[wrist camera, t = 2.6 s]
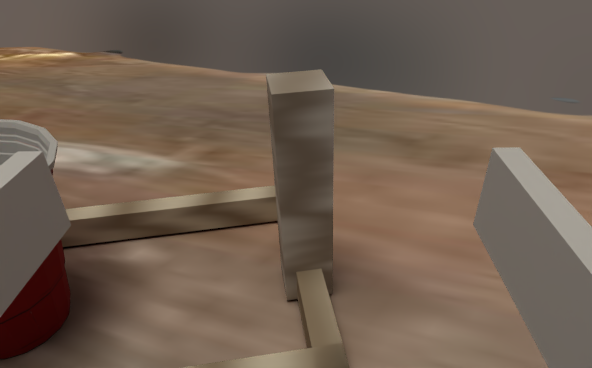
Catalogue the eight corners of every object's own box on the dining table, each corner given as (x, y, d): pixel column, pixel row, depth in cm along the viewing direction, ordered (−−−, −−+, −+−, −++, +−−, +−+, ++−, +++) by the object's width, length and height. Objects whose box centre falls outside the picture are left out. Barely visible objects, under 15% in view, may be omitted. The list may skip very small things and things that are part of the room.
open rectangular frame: (306, 205, 36) (301, 37, 29) (362, 396, 22) (380, 160, 14) (-48, 247, 33) (-158, 73, 26) (-252, 499, 19) (-635, 273, 11)
